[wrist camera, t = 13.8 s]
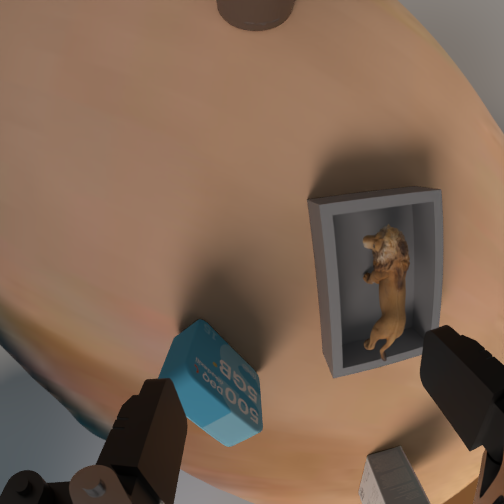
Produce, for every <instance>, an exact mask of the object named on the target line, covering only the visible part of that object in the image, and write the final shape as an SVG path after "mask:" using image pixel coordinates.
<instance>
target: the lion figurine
mask: <svg viewBox="0 0 504 504" xmlns="http://www.w3.org/2000/svg"><path fill="white" fill-rule="evenodd" d="M363 245H364V247H365V248H368V249H370V250H372V254H373V258H374V259H373V267H374V270H373V271H372V273H368V272H367V273H366V274H364V276H363V280H364V281H365V282H366V283H368V284H373V283H376V284H379V303H380V308H381V312H382V316H381V318H380V319H379V320H378V321H377V322H376V323H375V325H374V326H373V328H372V331H371V334H370V339H369V338H368V339H367V340H365V342H364V347H365V349H367V350H372V349H374V348H375V345H376V342H377V341H378V340H379V339H386V340H387V342H386V343H385V344H384V345H383V346H382V347H381V349H380V354H381V358H382V360H383V361H387V358H386V353H385V352H384V351H385V350H386V349H387V348H389V347H390V346H391V344H392V343H393V342H394V341H395V339H396V338H398V337H400V336H401V335H402V333H403V331H404V328H405V323H406V314H405V298H406V281H405V277H406V273H407V270H408V268H409V265H410V262H409V260H410V258H409V254H408V252H409V250H408V245H407V242H406V241H405V236H404V235H403V234H402V231H399V230H398V229H397V228H394V227H391V226H390V225H389V224H388V225H387V226H385V227H383V228H382V229H380V231H379V232H378V233H376V235H366V236H364V238H363Z"/></svg>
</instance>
